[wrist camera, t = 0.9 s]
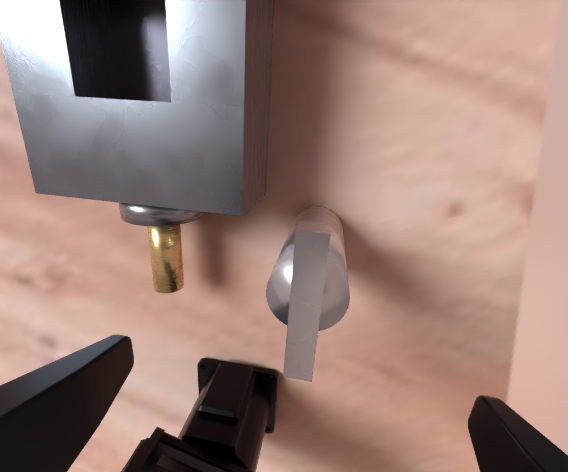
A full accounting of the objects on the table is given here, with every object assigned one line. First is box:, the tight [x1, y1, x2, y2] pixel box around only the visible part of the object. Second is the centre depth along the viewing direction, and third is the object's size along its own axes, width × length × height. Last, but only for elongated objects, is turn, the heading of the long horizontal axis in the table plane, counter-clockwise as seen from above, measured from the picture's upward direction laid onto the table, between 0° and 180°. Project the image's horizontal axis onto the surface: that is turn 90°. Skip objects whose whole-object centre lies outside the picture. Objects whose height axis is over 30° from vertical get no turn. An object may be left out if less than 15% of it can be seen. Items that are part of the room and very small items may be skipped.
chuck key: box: [266, 206, 350, 382], centre depth 14 cm, size 6×3×9 cm, turn 176°
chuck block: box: [0, 0, 274, 293], centre depth 15 cm, size 20×11×5 cm, turn 176°
